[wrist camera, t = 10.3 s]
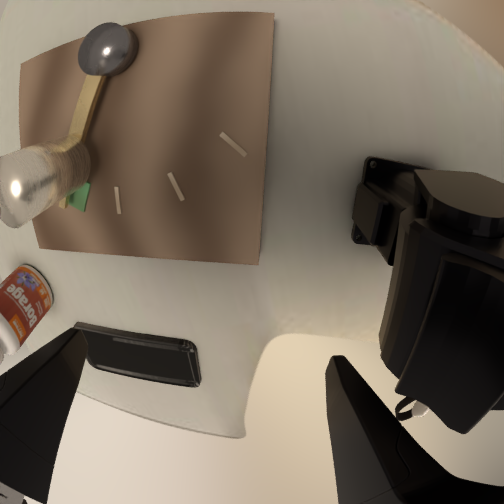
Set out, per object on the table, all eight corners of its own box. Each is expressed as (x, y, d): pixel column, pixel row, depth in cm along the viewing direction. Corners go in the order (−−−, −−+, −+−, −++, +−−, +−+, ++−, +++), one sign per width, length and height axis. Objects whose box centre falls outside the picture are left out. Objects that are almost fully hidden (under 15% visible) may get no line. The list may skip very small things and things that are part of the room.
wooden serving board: (273, 20, 13) (274, 12, 11) (258, 254, 21) (258, 266, 20) (32, 63, 13) (19, 63, 11) (48, 241, 21) (38, 249, 20)
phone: (201, 388, 29) (91, 367, 29) (202, 381, 30) (94, 361, 30) (193, 345, 25) (69, 324, 25) (195, 337, 26) (73, 318, 26)
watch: (401, 411, 34) (406, 428, 31) (386, 406, 33) (392, 426, 30) (439, 385, 31) (446, 403, 28) (427, 378, 30) (435, 398, 27)
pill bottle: (63, 301, 25) (11, 374, 15) (39, 311, 26) (-5, 374, 16) (31, 255, 22) (-33, 320, 12) (11, 271, 23) (-42, 329, 14)
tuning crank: (102, 24, 11) (34, 3, 5) (149, 32, 12) (87, 1, 6) (51, 194, 17) (-10, 233, 11) (88, 212, 18) (29, 261, 12)
